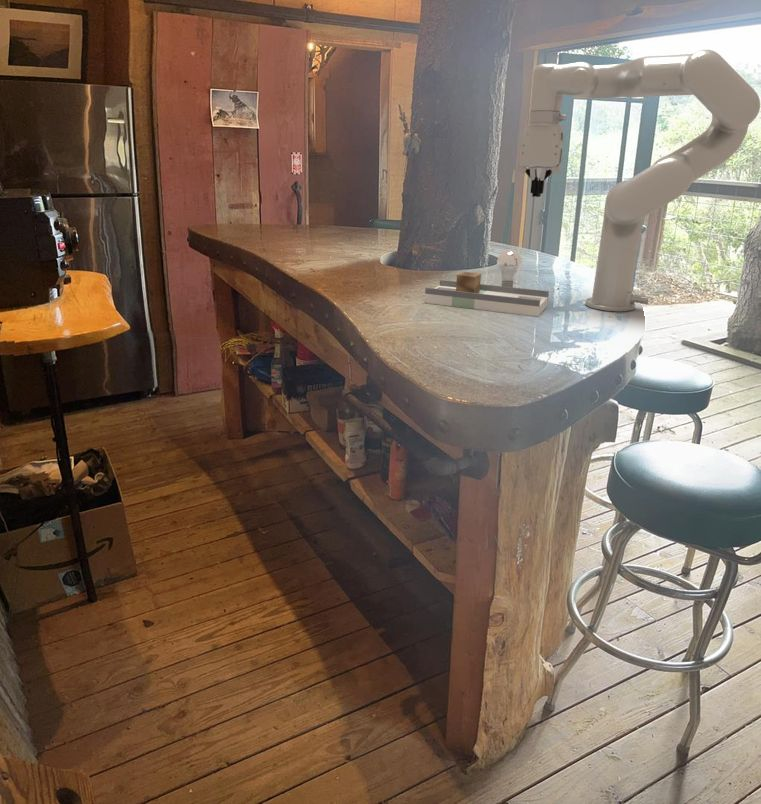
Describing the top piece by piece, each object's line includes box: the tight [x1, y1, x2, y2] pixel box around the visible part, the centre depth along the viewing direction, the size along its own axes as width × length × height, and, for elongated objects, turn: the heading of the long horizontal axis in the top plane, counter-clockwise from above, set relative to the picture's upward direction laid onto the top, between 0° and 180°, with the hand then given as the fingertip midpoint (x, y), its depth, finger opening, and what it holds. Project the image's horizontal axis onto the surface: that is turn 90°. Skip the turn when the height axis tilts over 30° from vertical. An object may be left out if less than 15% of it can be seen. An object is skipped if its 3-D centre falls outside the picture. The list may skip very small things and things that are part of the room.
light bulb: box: [496, 248, 523, 288], centre depth 186 cm, size 7×7×12 cm
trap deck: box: [424, 279, 550, 317], centre depth 171 cm, size 30×12×4 cm, turn 66°
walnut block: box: [456, 271, 482, 293], centre depth 172 cm, size 5×5×5 cm
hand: (536, 196), depth 169 cm, fingers closed
